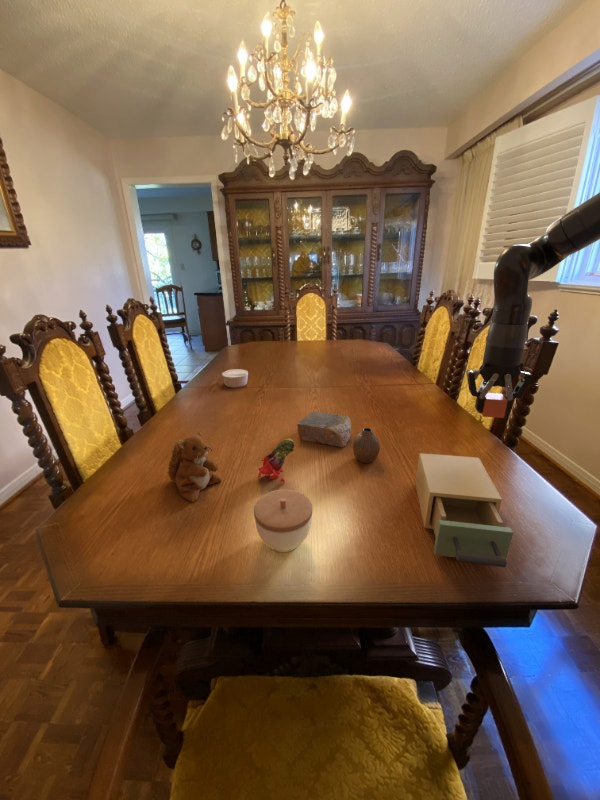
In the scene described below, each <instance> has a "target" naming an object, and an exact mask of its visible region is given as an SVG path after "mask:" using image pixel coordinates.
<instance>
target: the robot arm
mask: <svg viewBox="0 0 600 800" xmlns="http://www.w3.org/2000/svg"><path fill="white" fill-rule="evenodd" d="M599 240H600V192H598V193H596V194H595V195H593V196H592V197H590V198H589V199H587V200H585V201H584V202H582V203H580V204H579V205H578V206H576V207H574V208H573V209H572V210H569V211H568V212H567V213H565V214H564V215H562V216H560V217H559V218H557V219H556V220H555V221H554V222H552V223H551V224H550V225H549V226H548V227H547V229H546V230H545V233H543V234H542V235H541V236H540V237H537V238H536V239H535V240H533V241H531V242H530V243H528V244H513V245H510V246H508V247H507V248H505V249H504V250H503V251H502V252H501V253H500V254H499V255H498V257H497V260H496V262H495V265H494V269H493V293H494V295H493V296H494V305H493V310H492V315H491V321H490V325H489V328H488V329H487V330H488V331H487V335H486V337H485V347H484V352H483V357H482V362H481V365H480V367H479V368H478V369H474V370H473V369H467V370H466V379H467V386H468V393H470V395H471V396H472V397H475V403H474V408H475V410H476V411H477V413H478V414H481V413H482V412H483V407H484V402H485V399H484V398H485V396H486V394H487V393H489V392H490V391H491V390H492V387H500V388H502V392H503V393H502V394H503V396H504V397H505V398H506V399H507V400H508V402H507V406H506V411H505V415H507V413H509V412H510V409H511V404H512V401H513V400H516V399H519V400H520V399H522V397H523V396H524V394H525V393H526V391H527V389H528V387H529V385H530V384H531V382H532V380H533V379H534V376H533V374H532V373H530V372H529V371H522V370H521V367H520V366H521V363H522V360H523V354H524V349H525V345H526V340H527V337H528V328H529V327H528V326H529V321H530V316H531V312H532V307H533V297H531V296H530V295H529V293H528V292H529V281H531V280H533V279H536V278H538V277H540V276H541V275H543V274H545V273H546V272H548V271H550V270H552V269H553V268H554V267H555V266H557V265H559V264H560V263H562V262H563V261H564V260H566V259H567V258H568V257H570V256H571V255H574V254H576V253H577V252H580V251H581V250H583V249H585V248H587V247H588V246H591V245H592V244H594V243H596V242H597V241H599ZM479 375H480V376H481V378H482V381H481V383H480V386H479V388H478V390H477V384H476V383H477V382H476V380H478V378H479ZM517 378H518V382H517V384H516V386H515V387H514V389H513V384H512V383H513V382H514V381H515V380H516V379H517Z"/></svg>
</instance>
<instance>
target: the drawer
mask: <svg viewBox="0 0 600 800" xmlns="http://www.w3.org/2000/svg"><path fill="white" fill-rule="evenodd" d="M430 517H431V521H432V525H433V529H432V530H433V534H434V538H435V541H434V546H433V552H434V553H433V554H434V555H435V556H440V557H441V556H442V557H446V558H447V557H449V558H455V559H456V561H457V562H461V563H469V564H475V565H483V566H491V567H499V568H506V567H507V557H508V554H509V551H510V546H511V543H512V539H513V535H514V531H513V530H512V528H511V527H507V526H503V524H504V522H503V520H502V518H501V516H500V513H498V512H497V510H496V508H495V506H494V504H493V502H489V501H479V500H469V499H459V498H449V497H439V496H434V497H433V504H432V510H431V516H430Z"/></svg>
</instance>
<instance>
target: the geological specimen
mask: <svg viewBox="0 0 600 800" xmlns="http://www.w3.org/2000/svg"><path fill="white" fill-rule="evenodd" d="M296 425H297V434H298V438H299V440H300V441H304V442H311V443H315V444H316V443H317V444H322V445H328V446H334V447H339V448H341V449H342V448H344V447H346V446H347V445H348V443H349V442H350V439H351V437H352V435H351V431H352V421H351V419H350V417H349V416H347V415H342V414H335V413H328V412H320V411H312V412H310V413H309V414H308V415H307V416H305V417H303V418H302V419H301V420H300V421H299V422H298V423H297V424H296Z"/></svg>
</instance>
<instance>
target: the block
mask: <svg viewBox="0 0 600 800" xmlns="http://www.w3.org/2000/svg"><path fill="white" fill-rule="evenodd" d="M484 399H485V402H484V407H483V412H482V413H480V414H481V415H482V417H484V418H498V419H499V418H500V419H504V418H505V417H506V416H505V411H506V406H507V402H508V400H507V399H506V398H505V397H504V394H503V393H496V392H488V393H487V394H486V396H485V398H484Z"/></svg>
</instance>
